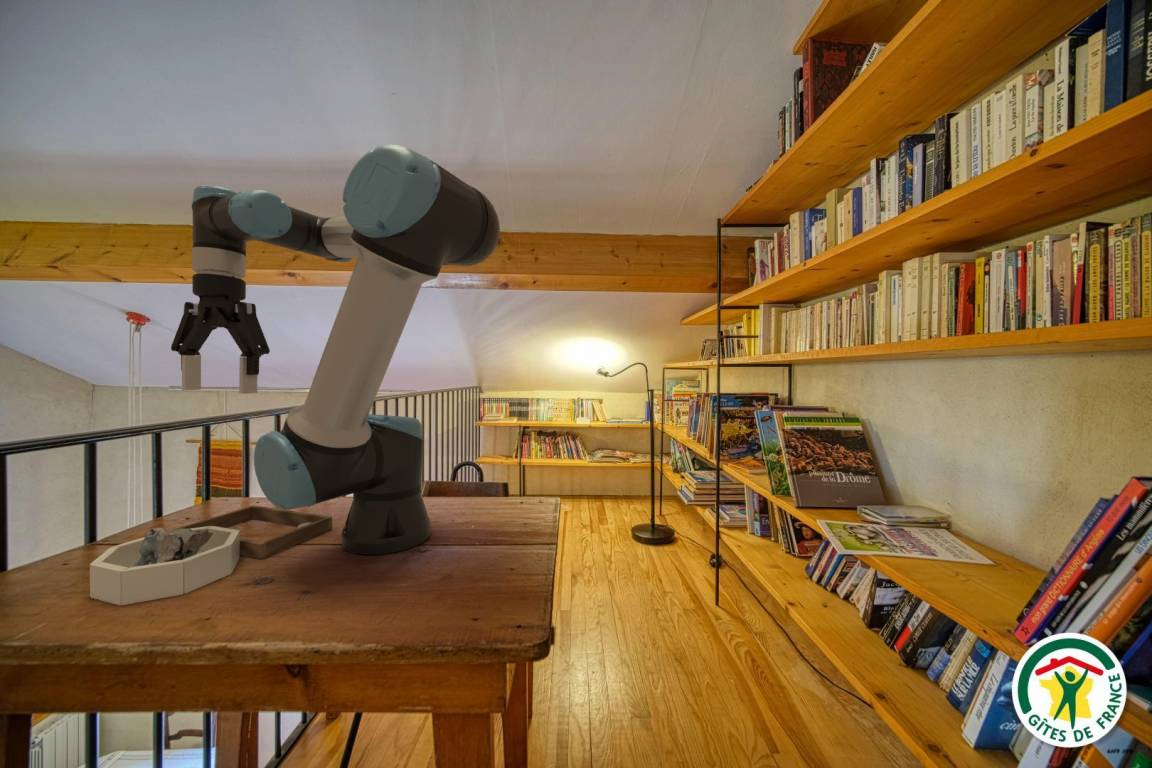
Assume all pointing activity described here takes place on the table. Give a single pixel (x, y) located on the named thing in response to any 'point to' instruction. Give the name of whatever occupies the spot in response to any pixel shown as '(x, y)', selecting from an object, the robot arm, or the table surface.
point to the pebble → (303, 524)
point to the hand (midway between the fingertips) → (219, 391)
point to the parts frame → (272, 515)
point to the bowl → (162, 570)
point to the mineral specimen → (170, 545)
